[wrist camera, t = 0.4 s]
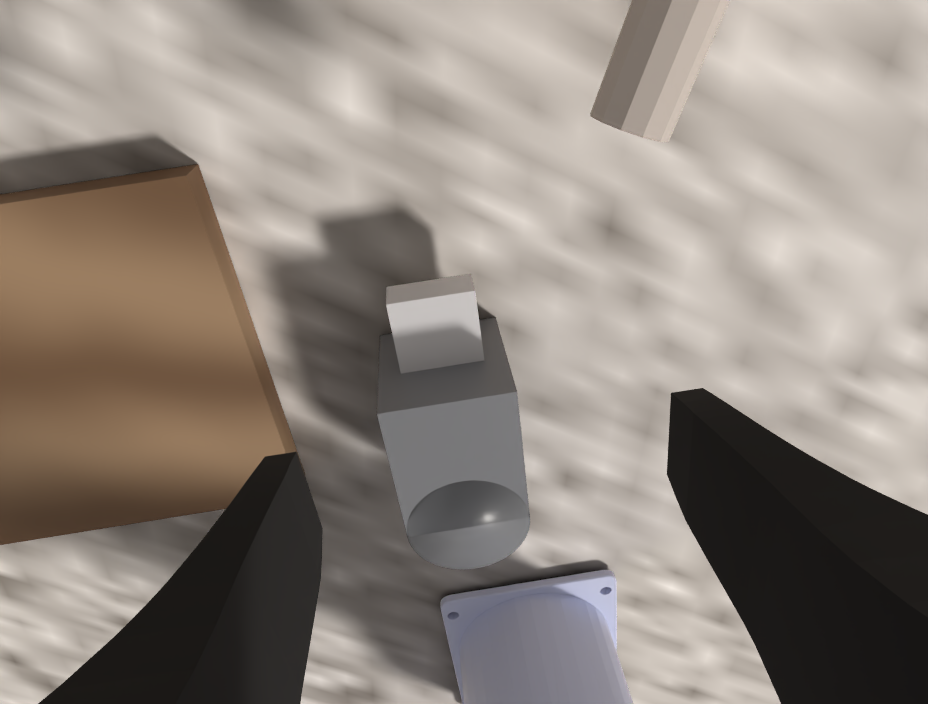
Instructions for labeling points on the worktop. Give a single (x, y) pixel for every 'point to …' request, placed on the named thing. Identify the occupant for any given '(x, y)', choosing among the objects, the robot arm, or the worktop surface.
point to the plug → (451, 426)
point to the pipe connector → (656, 64)
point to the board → (125, 358)
